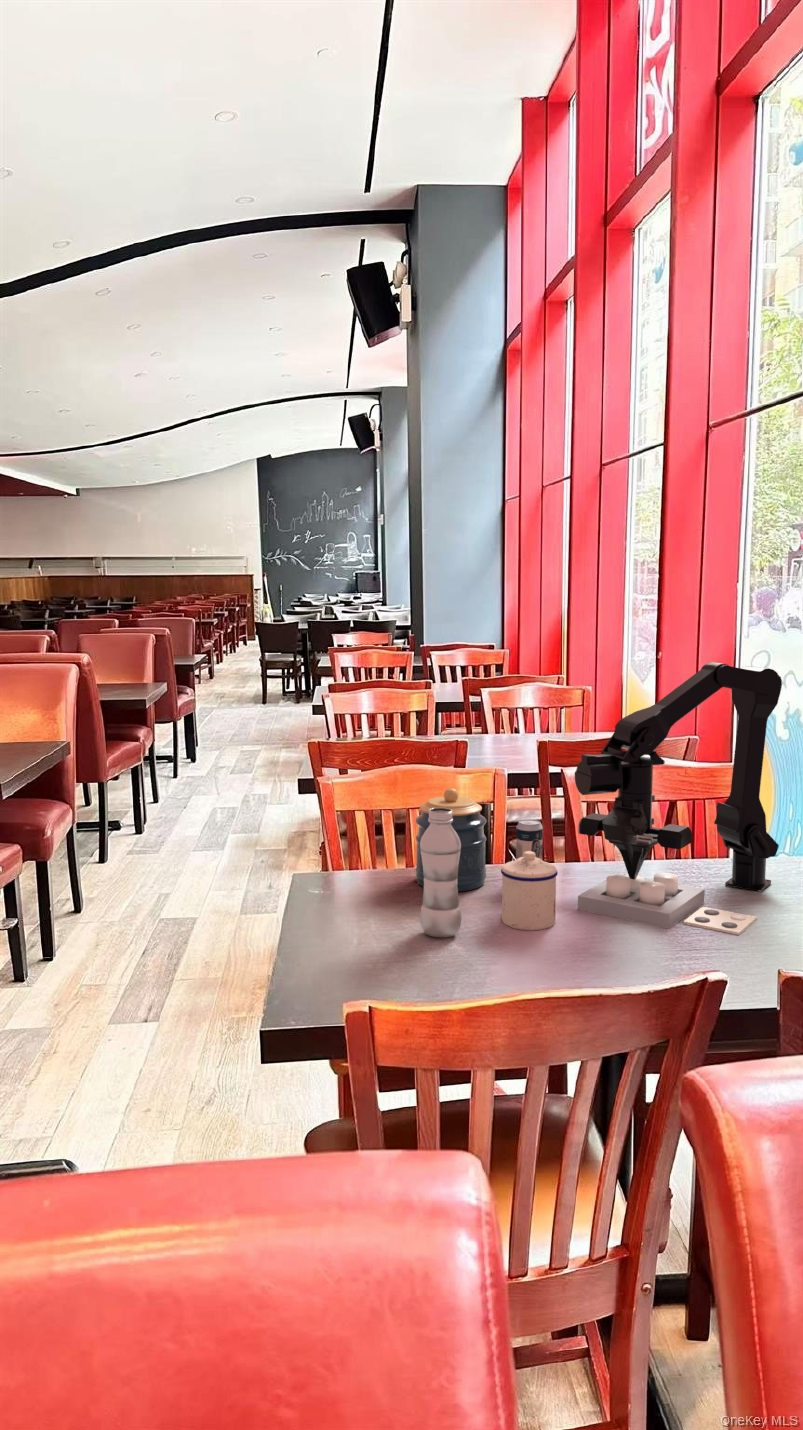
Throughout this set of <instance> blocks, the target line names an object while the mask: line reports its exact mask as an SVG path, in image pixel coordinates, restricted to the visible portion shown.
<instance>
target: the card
mask: <svg viewBox="0 0 803 1430" xmlns="http://www.w3.org/2000/svg"><path fill="white" fill-rule="evenodd" d="M757 920H758V917H757V916H753V915H748V914H744V913H743V914H742V913H737V912H731V911H727V910H723V909H718V908H712V907H706V906H702V907H700V908H698V910H696V911H695V912H694V913H691V915H689V916H688V917H687V918H686V919H684V920H683V922H682V923H683V925H688V926H693V927H698V928H702V929H703V928H704V929H707V930H713V931H717V932H722V933H728V934H733V935H738V936H740V935H741V934H742V933H743V932H744V931H746V929H748V928H750V926H751V925H752V924H753V923H755V922H756V921H757Z"/></svg>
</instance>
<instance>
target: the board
mask: <svg viewBox="0 0 803 1430" xmlns="http://www.w3.org/2000/svg"><path fill="white" fill-rule="evenodd" d="M615 875H620V876H626V875H627V874H624V873H623V874H622V873H616V874H615ZM643 878H644V879H645V880H644V882H646V881H653V882H654V879H651V878H645V877H643ZM705 890H706V889H705V888H702V887H701V888H700V887H696V886H691V885H685V884H679V883H678V894H677V895H676V896H674V897H671V896H666V895H664V904H662V905H661V906H655V905H650V904H645V903H640V902H639V898H640V891H639V890H634V889H630V897H629V898H627V899H620V898H615V897H610V896H606V879H605V880H603V881H602V882H600V883H598V884H597V885H595V886H593V887H591V888H589V889H588V890H587V889H586V891H584V892H582V893H580V894H578V895H577V910H579V911H583V912H588V913H592V914H593V913H594V914H598V915H603V916H606V917H607V916H608V917H612V918H616V919H621V920H626V921H631V922H636V923H639V924H640V923H641V924H646V925H651V926H656V927H660V928H664V929H671V928H672V927H673V926H674V925H676V924H677V923H679V922H680V921H681V920H683V919H684V918H686V917H687V916H688V915H689V914H690V913H691V914H692V912H694V911H695V910H696V909H697V908H699V907H701V906H702V904H704V903H705Z"/></svg>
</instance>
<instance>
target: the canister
mask: <svg viewBox="0 0 803 1430" xmlns="http://www.w3.org/2000/svg"><path fill="white" fill-rule="evenodd" d="M443 793H444V794H443V796H437V797H435V796H434V797H432V798H429V799H428V800H427V801H426V802H424V803H423V804H421V805H420V807H419V809H420V811H422V812H421V814H419V815H418V816H417V817H416V818H415V823H416V825H417V826H418V832H417V835H416V836H415V840H416V868H415V877H416V880H417V884H418V885H419V886H421V887H422V888H424V875H423V863H422V856H421V849H420V841H421V837H422V836H423V834H424V833H425V831H426V830H427V828H428V827H429V826H430V823H429V822H428V818H429V810H430V809H432V808H449V809H451V810H452V818H453V822H452V823H451V826H452V827H453V829H454V830H455V831H456V833H457V835H458V836H459V839H460V842H461V850H460V858H459V865H458V877H457V879H458V882H457V887H458V892H466V891H471V890H476V889H479V888H481V887H482V886H483V885H484V884H485V883H486V877H487V868H486V841H487V837H486V835H485V833H484V826H485V825H486V823H487V819H486V817H485V816H483V815H482V814H481V812H482V809H483V807H482V805H480V804H479V803H478V802H475V800H474V799H472V798H470V797H466V796H459V793H458V791H457V790H456V789H455V788H451V787H450V788H447V789H445V791H444V792H443Z"/></svg>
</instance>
